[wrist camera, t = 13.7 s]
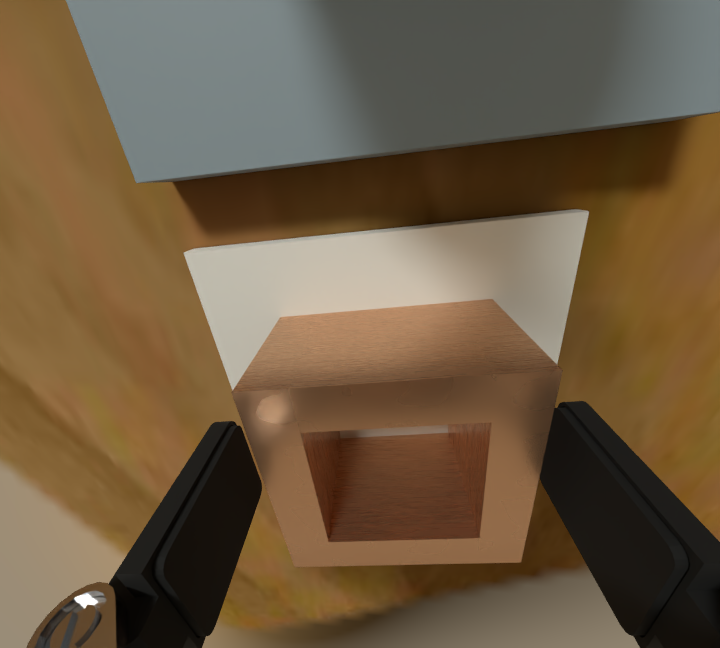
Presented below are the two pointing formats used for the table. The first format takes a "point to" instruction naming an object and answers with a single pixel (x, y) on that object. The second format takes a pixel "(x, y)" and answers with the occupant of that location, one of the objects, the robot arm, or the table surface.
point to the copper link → (400, 452)
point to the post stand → (385, 75)
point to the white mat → (392, 280)
